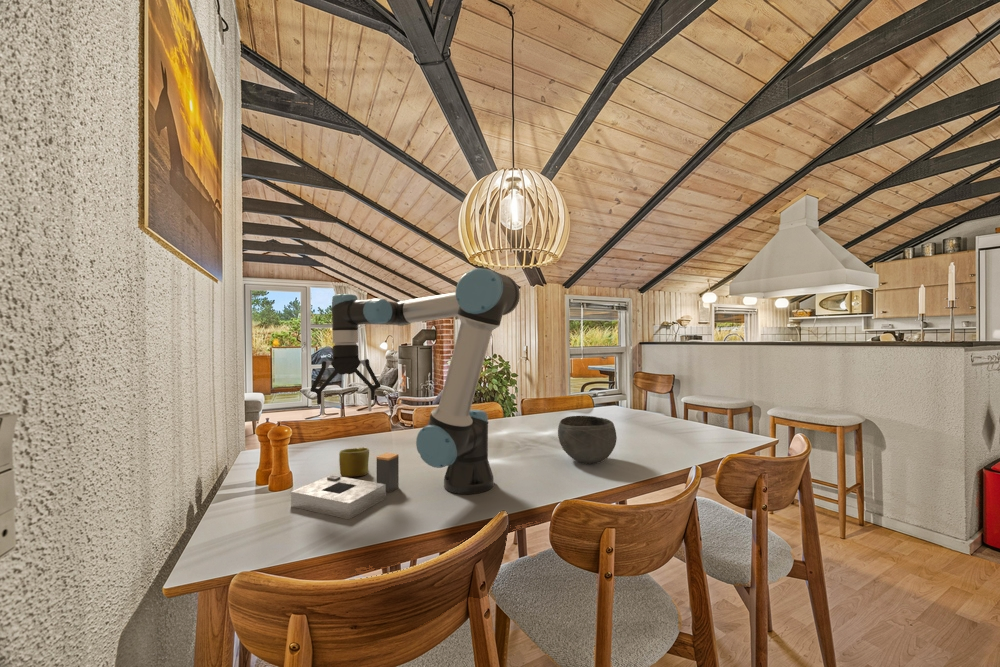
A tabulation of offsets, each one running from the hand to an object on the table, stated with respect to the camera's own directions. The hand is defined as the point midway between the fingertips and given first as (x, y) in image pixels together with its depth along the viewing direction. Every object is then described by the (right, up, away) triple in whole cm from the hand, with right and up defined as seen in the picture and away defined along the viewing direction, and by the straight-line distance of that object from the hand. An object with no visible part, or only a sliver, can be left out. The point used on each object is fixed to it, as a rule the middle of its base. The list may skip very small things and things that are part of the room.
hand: (346, 412), depth 126 cm
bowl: (+79, -22, +21) cm, 85 cm away
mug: (0, -22, +9) cm, 24 cm away
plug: (+14, -22, -5) cm, 26 cm away
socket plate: (+4, -22, -15) cm, 27 cm away
